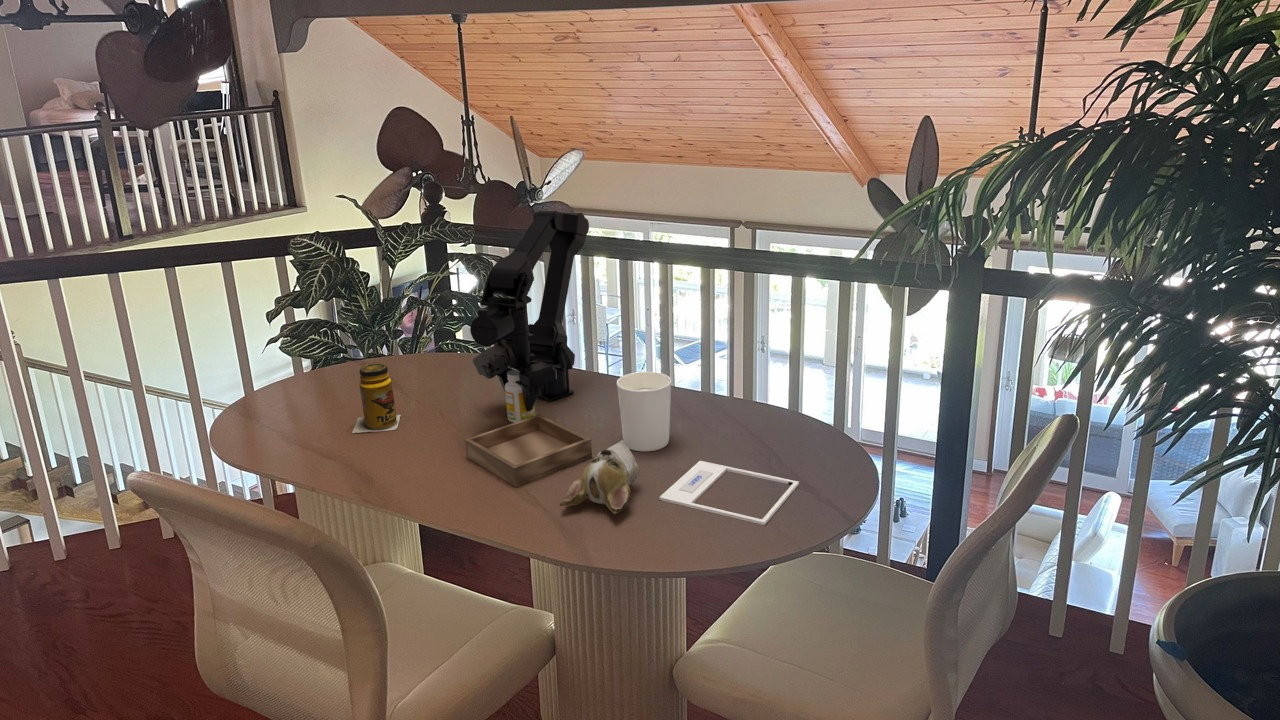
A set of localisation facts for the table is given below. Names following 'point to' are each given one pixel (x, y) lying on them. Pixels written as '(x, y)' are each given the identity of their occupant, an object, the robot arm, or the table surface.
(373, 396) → the condiment
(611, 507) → the ceramic sculpture
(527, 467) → the box
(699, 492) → the photo frame
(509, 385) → the supplement bottle
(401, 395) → the table surface
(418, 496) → the table surface
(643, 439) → the candle holder
